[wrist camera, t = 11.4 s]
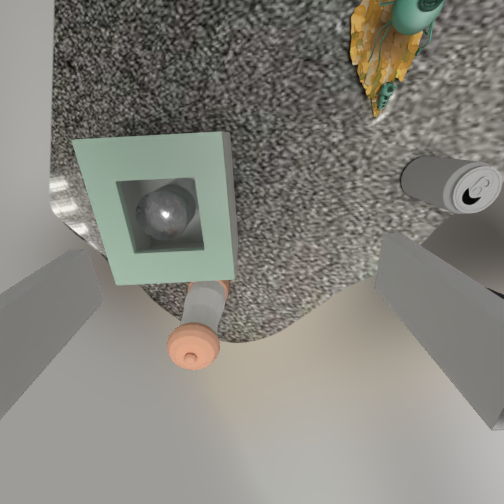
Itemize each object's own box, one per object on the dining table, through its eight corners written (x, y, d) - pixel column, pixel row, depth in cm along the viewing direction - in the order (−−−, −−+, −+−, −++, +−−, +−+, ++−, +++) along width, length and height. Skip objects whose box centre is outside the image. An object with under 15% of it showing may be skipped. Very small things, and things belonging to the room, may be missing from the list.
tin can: (164, 176, 41) (131, 191, 30) (203, 176, 41) (184, 192, 30) (169, 213, 43) (140, 240, 33) (205, 214, 43) (188, 241, 33)
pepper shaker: (192, 263, 48) (160, 336, 31) (231, 269, 49) (221, 343, 31) (190, 295, 51) (159, 379, 34) (226, 300, 52) (215, 385, 34)
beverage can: (390, 183, 43) (439, 200, 32) (418, 147, 40) (481, 152, 29) (418, 203, 44) (474, 225, 33) (447, 169, 42) (518, 180, 31)
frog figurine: (327, 111, 38) (373, 78, 24) (360, -46, 33) (443, -205, 19) (389, 122, 39) (470, 95, 25) (432, -31, 33) (565, -175, 19)
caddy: (124, 138, 39) (71, 139, 28) (230, 132, 39) (221, 131, 27) (149, 247, 47) (116, 285, 35) (238, 242, 47) (234, 279, 35)
